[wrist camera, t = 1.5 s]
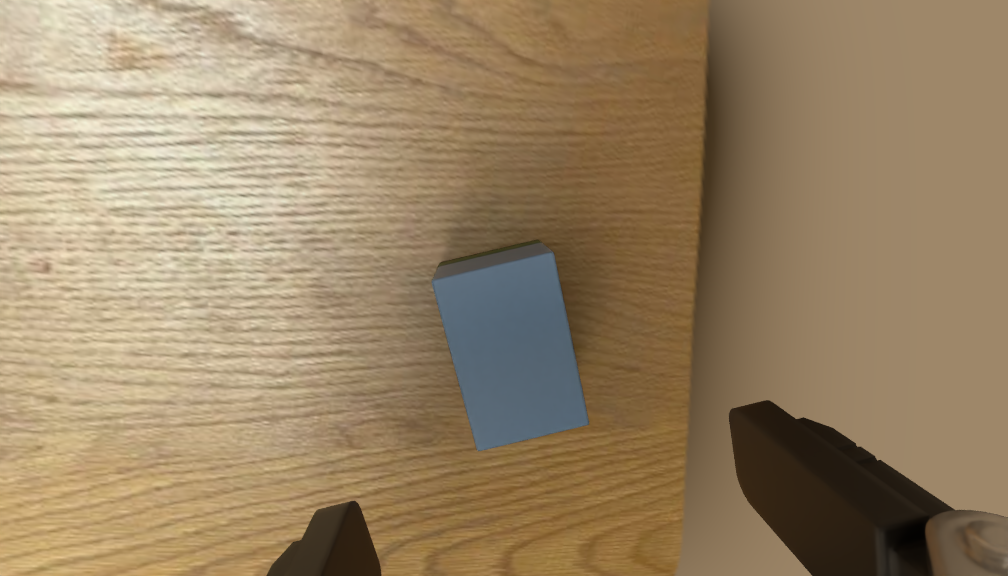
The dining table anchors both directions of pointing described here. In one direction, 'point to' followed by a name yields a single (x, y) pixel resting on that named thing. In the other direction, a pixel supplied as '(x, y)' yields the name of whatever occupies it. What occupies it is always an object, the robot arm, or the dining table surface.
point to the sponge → (510, 343)
